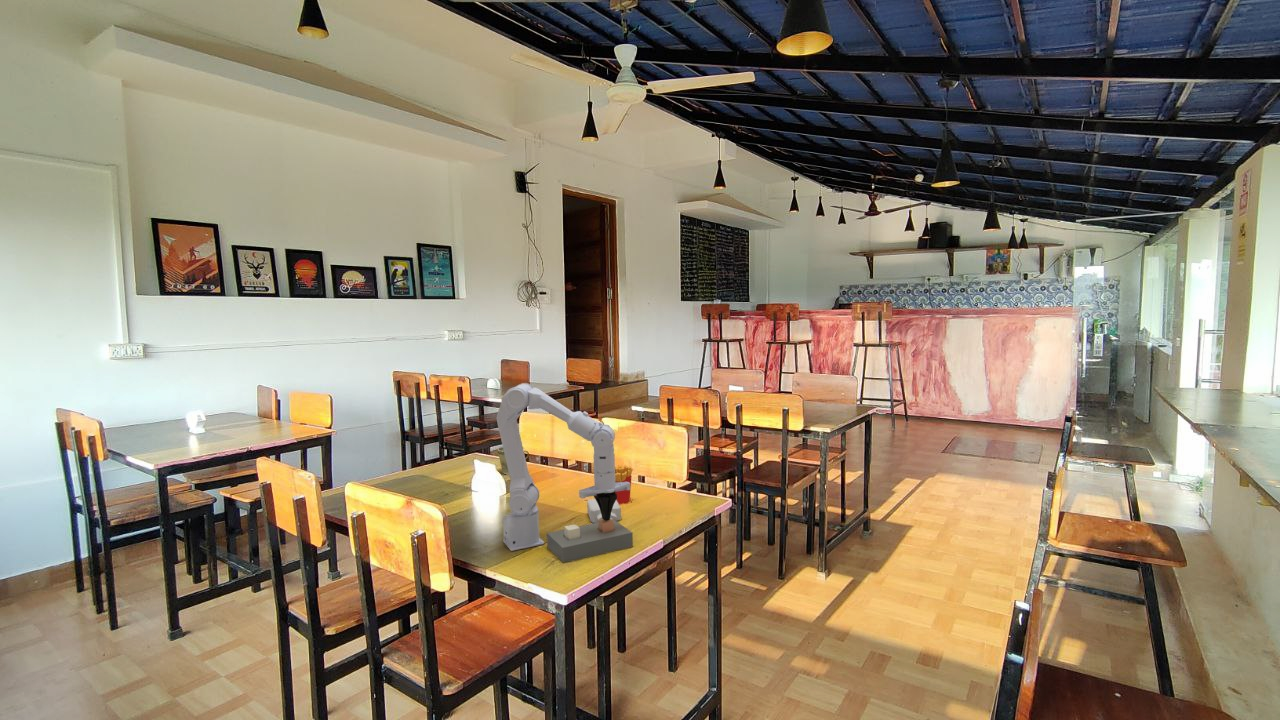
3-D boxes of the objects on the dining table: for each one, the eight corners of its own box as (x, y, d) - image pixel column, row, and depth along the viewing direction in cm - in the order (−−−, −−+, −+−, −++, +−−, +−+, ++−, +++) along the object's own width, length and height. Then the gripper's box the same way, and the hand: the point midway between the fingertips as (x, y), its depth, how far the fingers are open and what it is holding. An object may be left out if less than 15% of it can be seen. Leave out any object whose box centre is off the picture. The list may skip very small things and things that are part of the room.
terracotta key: (603, 533, 166) (603, 523, 166) (598, 530, 169) (598, 519, 169) (614, 531, 168) (613, 520, 168) (609, 528, 171) (608, 517, 170)
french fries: (609, 505, 201) (608, 469, 200) (606, 501, 205) (605, 466, 204) (634, 502, 203) (633, 467, 202) (631, 498, 207) (630, 464, 206)
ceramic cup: (493, 475, 240) (492, 450, 239) (507, 469, 249) (506, 444, 248) (523, 477, 236) (522, 452, 235) (535, 471, 245) (534, 446, 244)
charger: (593, 531, 179) (587, 514, 194) (624, 527, 181) (616, 511, 195) (593, 515, 179) (587, 499, 193) (624, 512, 180) (615, 496, 195)
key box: (563, 562, 157) (562, 547, 156) (547, 547, 167) (546, 532, 167) (632, 546, 166) (632, 532, 166) (613, 532, 176) (613, 519, 176)
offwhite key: (568, 541, 162) (568, 530, 161) (564, 537, 165) (564, 526, 164) (580, 538, 163) (579, 527, 163) (575, 535, 166) (575, 524, 166)
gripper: (585, 478, 160) (587, 528, 161) (634, 470, 167) (636, 518, 168) (575, 472, 166) (577, 520, 168) (623, 464, 173) (624, 511, 174)
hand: (606, 519), depth 168 cm, fingers closed
